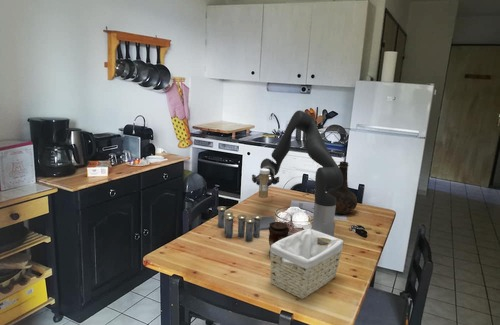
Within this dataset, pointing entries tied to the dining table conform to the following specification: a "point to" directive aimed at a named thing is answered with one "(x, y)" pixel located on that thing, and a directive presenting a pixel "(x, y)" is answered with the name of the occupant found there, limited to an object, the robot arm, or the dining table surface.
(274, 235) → the coffee cup
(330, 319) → the dining table surface
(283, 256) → the storage basket
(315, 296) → the dining table surface
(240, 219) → the posts
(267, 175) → the sprinkles bottle
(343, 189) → the glass bottle
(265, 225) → the rubber mat
